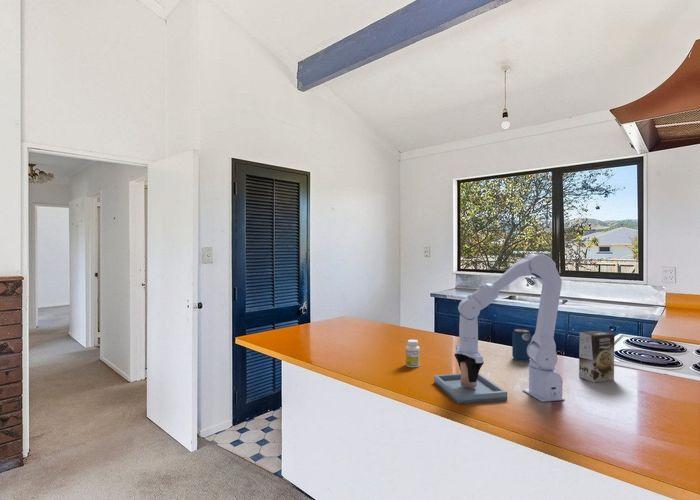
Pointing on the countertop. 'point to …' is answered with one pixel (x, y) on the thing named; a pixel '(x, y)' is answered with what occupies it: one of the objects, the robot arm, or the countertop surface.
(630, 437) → the countertop surface
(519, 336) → the soda can
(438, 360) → the countertop surface
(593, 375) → the coffee box
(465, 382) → the pillar candle
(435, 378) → the tray
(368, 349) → the countertop surface
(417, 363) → the supplement bottle
